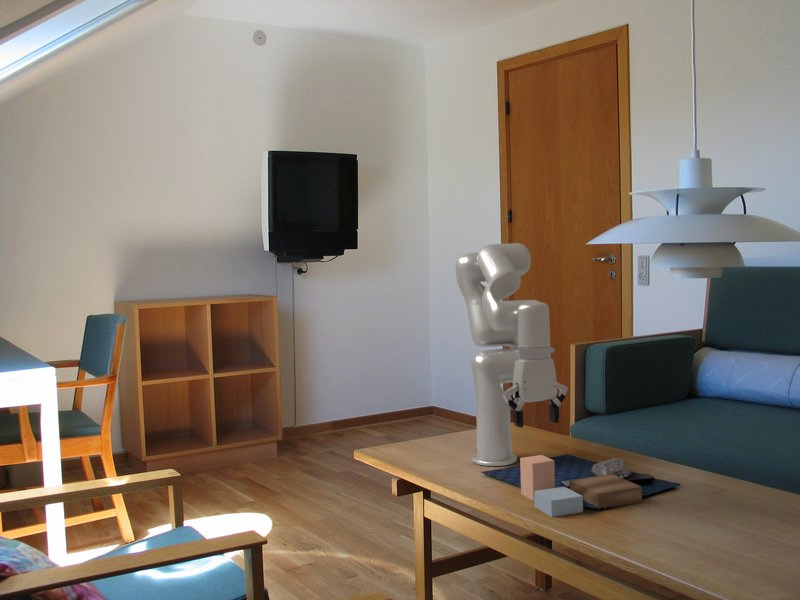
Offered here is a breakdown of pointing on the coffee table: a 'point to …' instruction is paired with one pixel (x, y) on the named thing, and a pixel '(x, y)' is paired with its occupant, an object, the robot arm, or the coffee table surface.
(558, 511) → the slate block
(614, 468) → the rock
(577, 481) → the walnut block
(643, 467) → the coffee table surface
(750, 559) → the coffee table surface
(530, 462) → the terracotta block
